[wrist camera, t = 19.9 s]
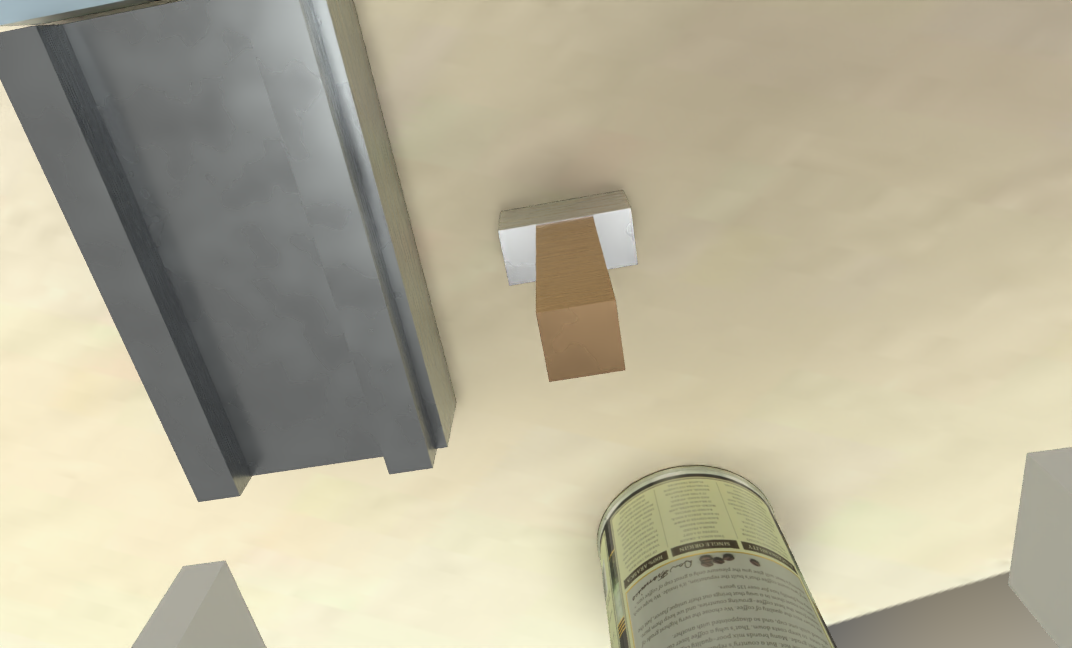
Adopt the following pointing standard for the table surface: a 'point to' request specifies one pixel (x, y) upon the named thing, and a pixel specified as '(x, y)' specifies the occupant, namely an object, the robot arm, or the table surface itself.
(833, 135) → the table surface
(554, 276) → the hammer
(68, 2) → the tray
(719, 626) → the coffee can
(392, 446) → the slot bed
